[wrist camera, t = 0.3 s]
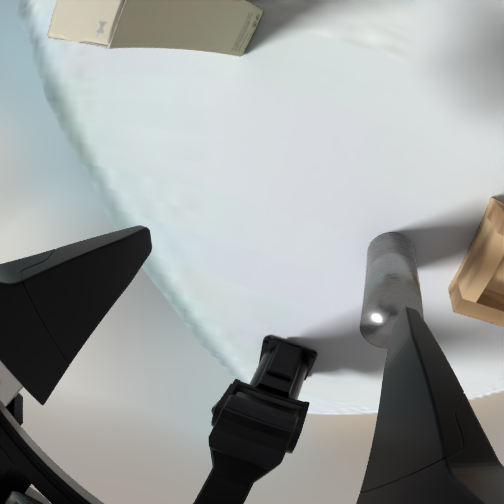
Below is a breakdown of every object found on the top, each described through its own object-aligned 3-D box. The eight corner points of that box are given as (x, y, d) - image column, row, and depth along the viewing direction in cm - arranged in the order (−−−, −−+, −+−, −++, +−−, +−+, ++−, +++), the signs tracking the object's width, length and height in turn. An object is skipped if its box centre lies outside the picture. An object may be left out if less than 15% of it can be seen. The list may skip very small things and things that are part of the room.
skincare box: (266, 10, 14) (150, -47, 5) (243, 58, 17) (112, 51, 7) (194, -7, 14) (65, -33, 5) (175, 37, 17) (42, 39, 8)
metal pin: (403, 279, 21) (405, 353, 15) (361, 266, 22) (351, 339, 16) (421, 240, 19) (435, 312, 13) (375, 226, 20) (373, 294, 14)
